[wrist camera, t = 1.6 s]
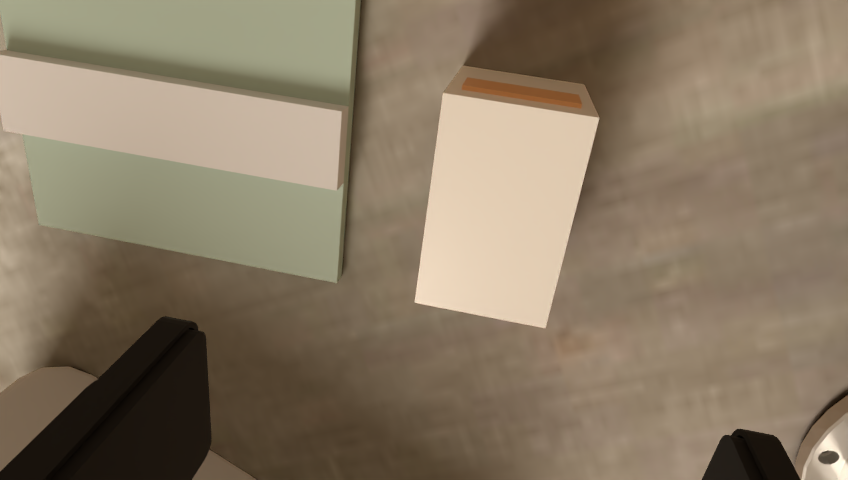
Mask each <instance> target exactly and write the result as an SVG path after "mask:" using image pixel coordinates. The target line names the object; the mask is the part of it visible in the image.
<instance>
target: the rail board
mask: <svg viewBox="0 0 848 480" xmlns="http://www.w3.org/2000/svg"><path fill="white" fill-rule="evenodd" d="M360 6H361V0H0V15H1V20H2V26H3V31H4V37H5V42H6V48H7V50H5V51H0V114H1V119H2V124H3V129H4V131H7V132H13V133H18V134H22V135H23V141H24V146H25V152H26V157H27V163H28V168H29V174H30V179H31V185H32V190H33V196H34V201H35V206H36V212H37V217H38V223H39V225H42V226H47V227H52V228H57V229H63V230H68V231H73V232H78V233H83V234H88V235H93V236H98V237H103V238H109V239H114V240H119V241H124V242H129V243H134V244H139V245H144V246H149V247H155V248H160V249H165V250H170V251H175V252H180V253H185V254H190V255H195V256H201V257H206V258H211V259H216V260H221V261H226V262H231V263H236V264H241V265H247V266H252V267H257V268H262V269H267V270H272V271H277V272H282V273H288V274H293V275H298V276H303V277H308V278H313V279H318V280H323V281H328V282H334V283H337V282H338V281H339V279H340V277H341V276H342V264H343V250H344V236H345V221H346V207H347V193H348V178H349V164H350V150H351V135H352V121H353V107H354V92H355V78H356V64H357V49H358V35H359V21H360Z"/></svg>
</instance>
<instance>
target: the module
mask: <svg viewBox="0 0 848 480" xmlns="http://www.w3.org/2000/svg"><path fill="white" fill-rule="evenodd" d="M598 121H599V116H598V114H597V111H596V109H595V107H594V105H593V102H592V100H591V98H590V96H589V94H588V91H587V89H586V87H585V85H584V84H580V83H573V82H567V81H560V80H554V79H547V78H541V77H534V76H528V75H521V74H515V73H508V72H502V71H495V70H489V69H482V68H476V67H470V66H462V67H461V69H460V70H459V72H458V73H457V74H456V76H455V77H454V79H453V80H452V81H451V83H450V84H449V85H448V87H447V88H446V90H445V91H444V92H443V97H442V105H441V112H440V119H439V127H438V134H437V142H436V149H435V156H434V164H433V171H432V178H431V186H430V193H429V201H428V208H427V215H426V223H425V230H424V237H423V245H422V252H421V259H420V267H419V274H418V282H417V289H416V296H415V303H419V304H424V305H429V306H434V307H439V308H444V309H449V310H455V311H460V312H465V313H470V314H475V315H480V316H485V317H490V318H495V319H500V320H506V321H511V322H516V323H521V324H526V325H531V326H536V327H541V328H546V324H547V320H548V316H549V312H550V308H551V305H552V301H553V297H554V293H555V289H556V285H557V281H558V277H559V273H560V269H561V266H562V262H563V258H564V254H565V250H566V246H567V242H568V238H569V234H570V231H571V227H572V223H573V219H574V215H575V211H576V207H577V203H578V199H579V195H580V192H581V188H582V184H583V180H584V176H585V172H586V168H587V164H588V160H589V156H590V153H591V149H592V145H593V141H594V137H595V133H596V129H597V125H598Z"/></svg>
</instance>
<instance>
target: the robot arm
mask: <svg viewBox="0 0 848 480" xmlns="http://www.w3.org/2000/svg"><path fill="white" fill-rule="evenodd" d="M210 445H211V422H210V404H209V386H208V368H207V349H206V336H205V334H204V332H201V331H198V326H197V324H196V323H194V322H192V321H186V320H181V319H176V318H171V317H162V318H160V319H159V320H158V321H157V322H156V323H155V324H154V325H153V326H152V327H151V328H150V329H149V330H148V331H147V332H145V333H144V334H143V335H142V336H141V337H140V338H139V339H138V340H137V341H136V342H135V343H134V344H133V345H132V346H131V347H130V348H129V349H128V350H127V351H126V352H125V353H124V354H123V355H122V356H121V357H120V358H119V359H118V360H117V361H116V362H115V363H114V364H113V365H112V366H111V367H110V368H109V369H108V370H107V371H106V372H105V373H104V374H103V375H102V376H101V377H100V378H99V379H98V380H96V381H94V382H93V383H91V384H90V385H89V386H87V387H86V388H85V389H84V390H83V391H82V392H81V393H80V394H79V395H78V396H77V397H76V398H75V399H74V400H73V401H72V402H71V403H70V404H69V405H68V406H67V407H66V408H65V409H64V410H63V411H62V412H61V413H60V414H59V415H58V416H57V417H55V418H54V419H53V420H52V421H51V422H50V423H49V424H48V425H47V426H46V427H45V428H44V429H43V430H42V431H41V432H40V433H39V434H38V435H37V436H36V437H35V438H34V439H33V440H32V441H31V442H30V443H29V444H28V445H27V446H26V447H25V448H24V449H23V450H22V451H21V452H20V453H19V454H18V455H17V456H16V457H14V458H13V459H12V460H11V461H10V462H9V463H8V464H7V465H6V466H5V467H4V468H3V469H2V470H1V471H0V480H192V479H193V477H194V476H195V474H196V473H197V471H198V469H199V468H200V466H201V465H202V463H203V462H204V460H205V458H206V456H207V454H208V452H209V449H210ZM702 480H848V395H847V396H846V397H844V398H843V399H842V400H840V401H839V402H838V403H836V404H835V405H834V406H832V407H831V408H830V409H828V410H827V411H826V412H825V414H824V415H823V416H822V417H821V418H820V419H819V420H818V421H817V422H816V423H815V424H814V425H813V426H812V428H811V429H810V431H809V432H808V434H807V436H806V437H805V439H804V441H803V442H802V444H801V446H800V449H799V452H798V455H797V458H796V461H795V468H794V466H793V464H792V463H791V461H790V459H789V457H788V455H787V453H786V451H785V450H784V448H783V446H782V444H781V442H780V441H779V439H778V438H777V437H775V436H774V435H769V434H764V433H759V432H754V431H749V430H744V429H737V430H735V431H734V432H733V434H732V435H731V436H730V435H725V436H723V437H722V438H721V440H720V442H719V444H718V446H717V448H716V451H715V453H714V455H713V457H712V459H711V461H710V463H709V465H708V468H707V470H706V472H705V474H704V476H703V478H702Z"/></svg>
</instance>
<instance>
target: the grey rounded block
mask: <svg viewBox="0 0 848 480" xmlns="http://www.w3.org/2000/svg"><path fill="white" fill-rule="evenodd" d="M96 380H98V378H96V377H94V376H93V375H91V374H88V373H85V372H83V371H80V370H77V369H74V368H72V367H42V368H40V369H38V370H36V371H33V372H31V373H29V374H27V375H25V376H23V377H21V378H19V379H17V380H16V381H15V382H14V383H12V384H11V385H10V386H9V387H7V388H6V389H5V390H4V391H2V392H1V393H0V471H1V470H2V469H3V468H4V467H5V466H6V465H7V464H8V463H9V462H10V461H11V460H12V459H13V458H14V457H16V456H17V455H18V454H19V453H20V452H21V451H22V450H23V449H24V448H25V447H26V446H27V445H28V444H29V443H30V442H31V441H32V440H33V439H34V438H35V437H36V436H37V435H38V434H39V433H40V432H41V431H42V430H43V429H44V428H45V427H46V426H47V425H48V424H49V423H50V422H51V421H52V420H53V419H54V418H55V417H57V416H58V415H59V414H60V413H61V412H62V411H63V410H64V409H65V408H66V407H67V406H68V405H69V404H70V403H71V402H72V401H73V400H74V399H75V398H76V397H77V396H78V395H79V394H80V393H81V392H82V391H83V390H84V389H85V388H86V387H87V386H89V385H90V384H91V383H93V382H94V381H96ZM192 480H257V479H255V478H254V477H252V476H251V475H249V474H247V473H246V472H244V471H243V470H241V469H240V468H238V467H236V466H235V465H233V464H232V463H230V462H228V461H227V460H225V459H224V458H222V457H221V456H219V455H217V454H216V453H214V452H213V451H211V450H210V449H209V452H208V454H207V456H206V458H205V460H204V462H203V463H202V465H201V466H200V468H199V469H198V471H197V473H196V474H195V476H194V477H193V479H192Z"/></svg>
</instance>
